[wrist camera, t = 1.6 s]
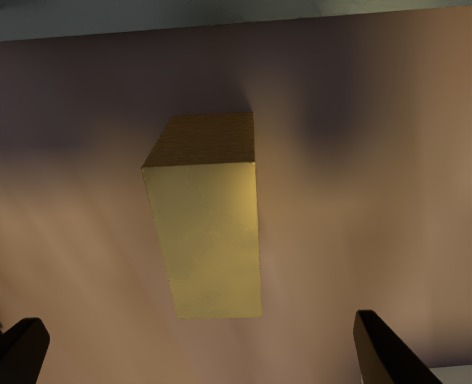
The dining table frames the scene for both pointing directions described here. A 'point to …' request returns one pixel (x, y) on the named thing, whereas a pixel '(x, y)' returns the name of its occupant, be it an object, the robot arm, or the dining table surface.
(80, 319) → the dining table surface
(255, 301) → the block
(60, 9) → the vise
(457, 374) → the milk
